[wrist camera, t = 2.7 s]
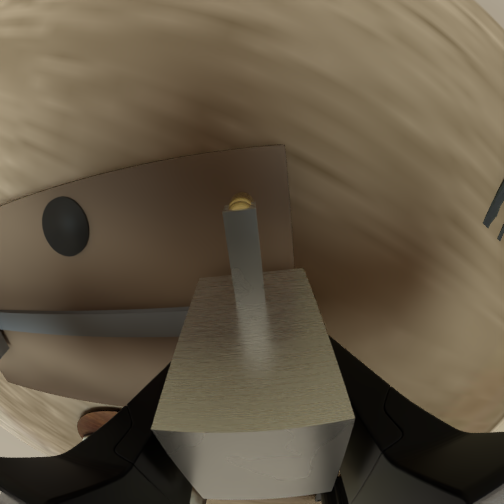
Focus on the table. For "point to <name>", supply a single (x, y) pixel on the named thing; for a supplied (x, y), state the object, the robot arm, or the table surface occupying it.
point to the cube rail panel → (125, 267)
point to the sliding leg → (254, 381)
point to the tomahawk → (495, 209)
